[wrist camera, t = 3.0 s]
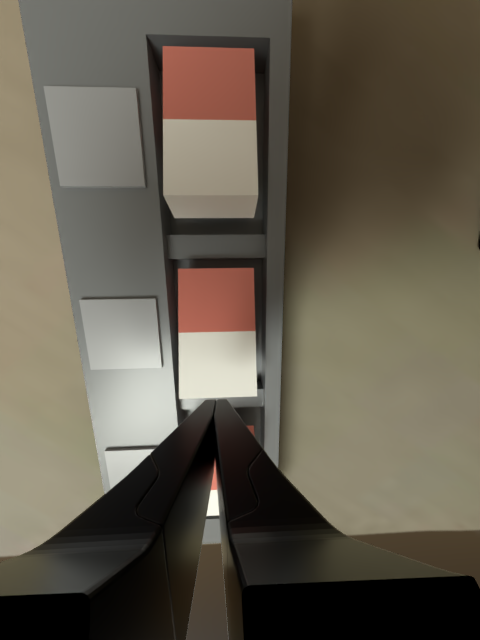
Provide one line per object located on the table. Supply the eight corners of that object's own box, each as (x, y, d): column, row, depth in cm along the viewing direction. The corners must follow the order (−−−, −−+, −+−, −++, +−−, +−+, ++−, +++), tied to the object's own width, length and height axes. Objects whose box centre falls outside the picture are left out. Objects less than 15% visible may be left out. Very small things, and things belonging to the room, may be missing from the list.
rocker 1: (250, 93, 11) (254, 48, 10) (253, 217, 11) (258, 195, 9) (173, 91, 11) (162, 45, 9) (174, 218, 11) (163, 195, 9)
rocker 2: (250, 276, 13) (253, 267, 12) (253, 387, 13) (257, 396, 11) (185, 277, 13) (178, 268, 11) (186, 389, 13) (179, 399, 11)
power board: (274, 58, 13) (294, -33, 9) (267, 487, 19) (276, 542, 16) (76, 53, 12) (6, -45, 9) (136, 494, 19) (112, 552, 15)
